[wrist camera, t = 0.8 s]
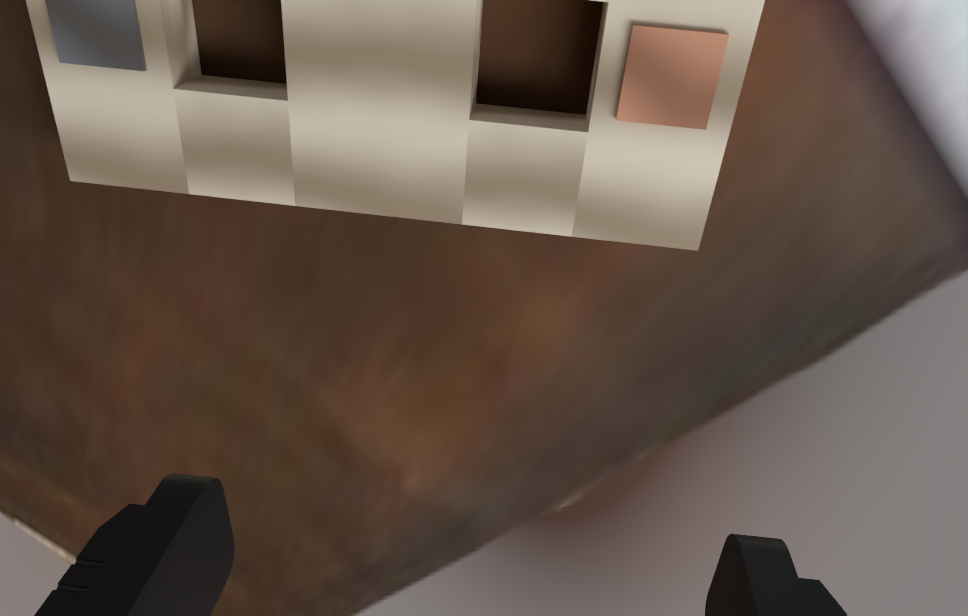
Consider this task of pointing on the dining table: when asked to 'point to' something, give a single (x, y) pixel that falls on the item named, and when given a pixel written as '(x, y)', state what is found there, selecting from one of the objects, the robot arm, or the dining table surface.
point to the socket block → (406, 114)
